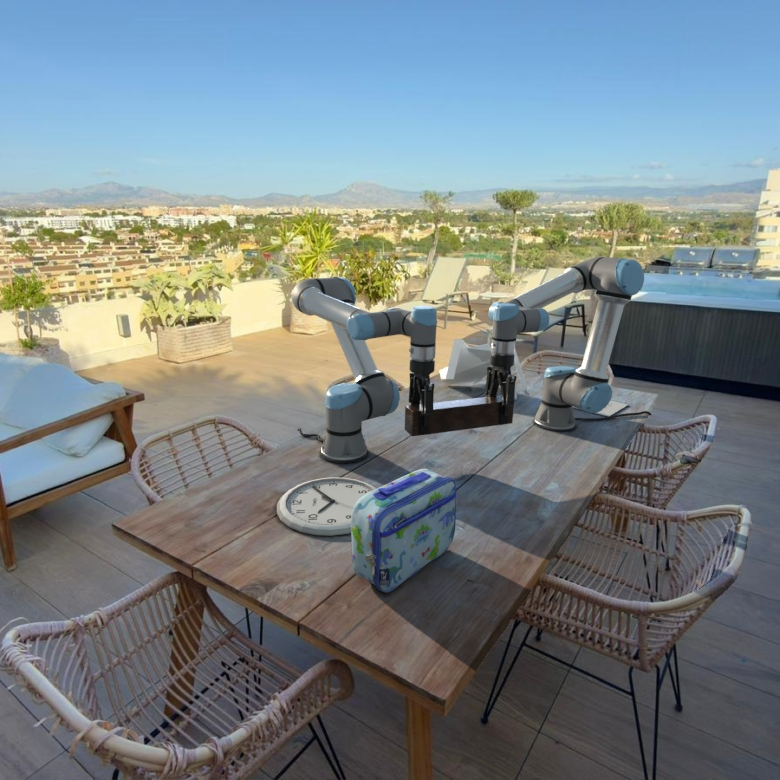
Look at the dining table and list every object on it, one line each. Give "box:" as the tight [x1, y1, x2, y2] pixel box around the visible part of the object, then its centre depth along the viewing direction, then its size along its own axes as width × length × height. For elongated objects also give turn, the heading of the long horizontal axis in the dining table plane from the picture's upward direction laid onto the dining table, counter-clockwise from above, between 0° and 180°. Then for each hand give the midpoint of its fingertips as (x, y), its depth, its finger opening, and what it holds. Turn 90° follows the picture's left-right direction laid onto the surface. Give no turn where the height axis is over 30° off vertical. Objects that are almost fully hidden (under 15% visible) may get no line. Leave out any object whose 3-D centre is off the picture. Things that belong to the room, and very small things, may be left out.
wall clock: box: [276, 476, 378, 537], centre depth 142 cm, size 30×2×30 cm
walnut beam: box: [404, 394, 515, 437], centre depth 167 cm, size 36×6×8 cm, turn 111°
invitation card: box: [573, 400, 629, 417], centre depth 226 cm, size 21×1×15 cm
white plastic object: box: [438, 338, 531, 400], centre depth 245 cm, size 37×45×31 cm
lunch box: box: [350, 468, 457, 593], centre depth 114 cm, size 26×11×21 cm, turn 134°
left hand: (419, 430), depth 164 cm, fingers closed on walnut beam, 6 cm apart
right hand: (497, 420), depth 173 cm, fingers closed on walnut beam, 6 cm apart
